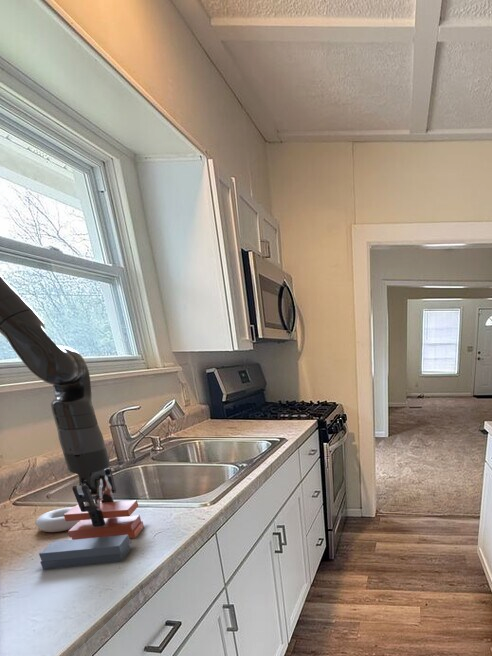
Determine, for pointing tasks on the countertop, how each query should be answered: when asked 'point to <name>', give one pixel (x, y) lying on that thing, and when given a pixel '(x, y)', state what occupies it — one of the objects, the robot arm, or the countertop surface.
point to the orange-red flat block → (108, 528)
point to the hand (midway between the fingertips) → (105, 519)
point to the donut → (55, 521)
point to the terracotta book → (104, 510)
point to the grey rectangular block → (85, 552)
